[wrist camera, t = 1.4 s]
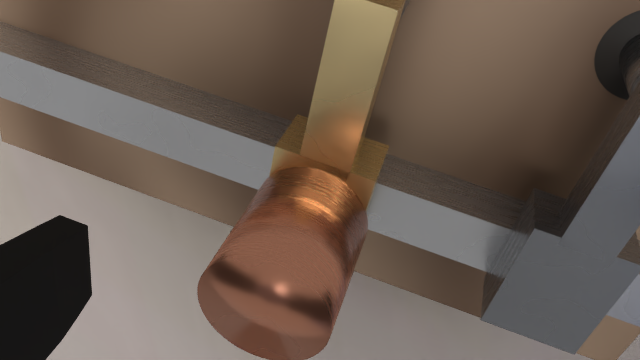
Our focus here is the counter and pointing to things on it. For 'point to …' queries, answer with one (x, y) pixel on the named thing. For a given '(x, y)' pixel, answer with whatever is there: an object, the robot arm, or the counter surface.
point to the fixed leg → (575, 240)
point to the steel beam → (252, 147)
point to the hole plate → (389, 108)
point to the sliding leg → (308, 202)
